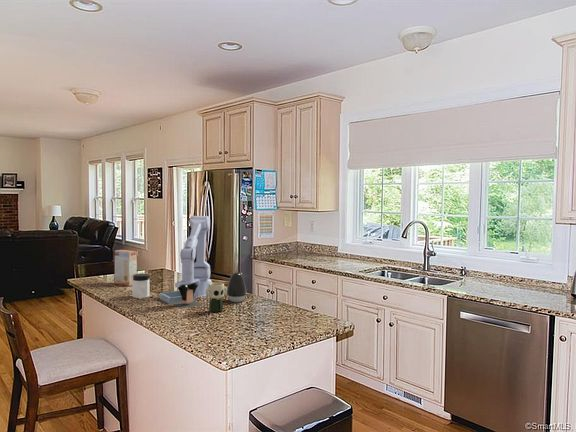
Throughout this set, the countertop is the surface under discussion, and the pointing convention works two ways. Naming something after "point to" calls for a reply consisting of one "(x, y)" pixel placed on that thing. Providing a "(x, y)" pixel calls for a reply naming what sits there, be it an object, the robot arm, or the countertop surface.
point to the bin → (172, 297)
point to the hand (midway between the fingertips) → (187, 299)
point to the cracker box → (125, 266)
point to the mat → (187, 304)
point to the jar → (140, 285)
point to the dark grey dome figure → (236, 288)
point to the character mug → (216, 296)
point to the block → (188, 296)
